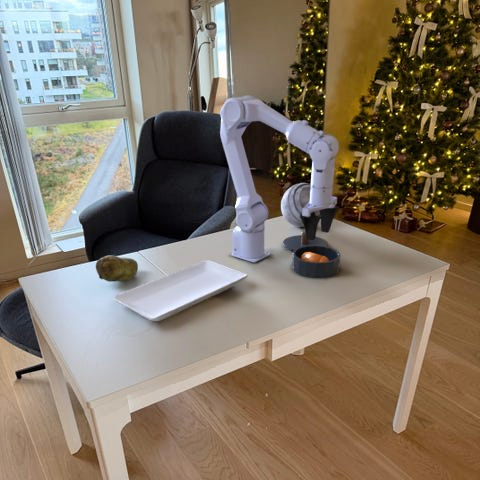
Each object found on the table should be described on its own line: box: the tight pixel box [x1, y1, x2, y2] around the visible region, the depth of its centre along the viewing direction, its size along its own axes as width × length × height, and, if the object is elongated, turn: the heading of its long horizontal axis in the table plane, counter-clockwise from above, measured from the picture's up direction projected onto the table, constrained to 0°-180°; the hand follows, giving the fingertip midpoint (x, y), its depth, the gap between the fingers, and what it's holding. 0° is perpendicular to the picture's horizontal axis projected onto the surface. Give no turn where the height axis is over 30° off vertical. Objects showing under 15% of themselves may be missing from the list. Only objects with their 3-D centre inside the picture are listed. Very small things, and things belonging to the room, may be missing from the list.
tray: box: [113, 259, 249, 322], centre depth 113 cm, size 17×31×4 cm, turn 136°
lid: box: [282, 230, 328, 252], centre depth 142 cm, size 14×14×5 cm
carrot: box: [301, 252, 329, 262], centre depth 126 cm, size 10×4×4 cm, turn 50°
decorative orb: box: [280, 182, 320, 228], centre depth 157 cm, size 15×14×15 cm
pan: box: [291, 245, 342, 279], centre depth 127 cm, size 13×13×4 cm
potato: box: [95, 254, 139, 283], centre depth 121 cm, size 8×13×8 cm, turn 131°
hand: (317, 235), depth 123 cm, fingers open, 7 cm apart
